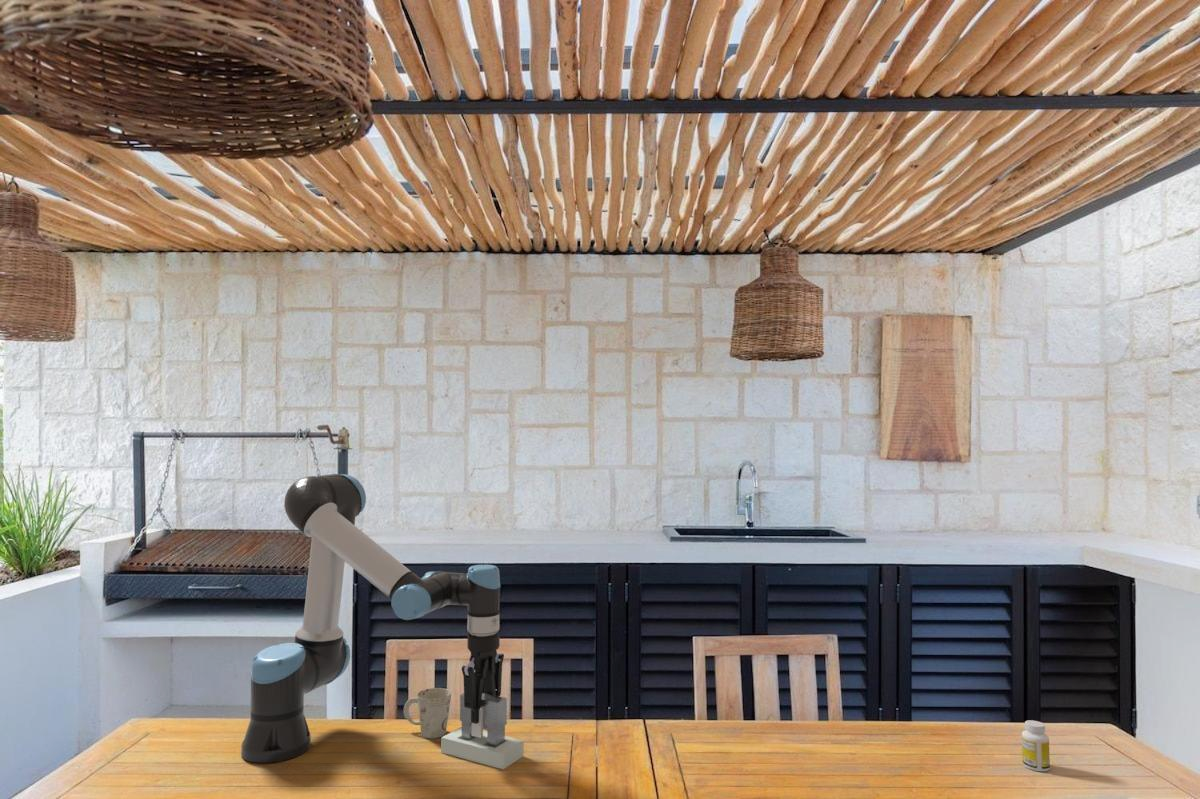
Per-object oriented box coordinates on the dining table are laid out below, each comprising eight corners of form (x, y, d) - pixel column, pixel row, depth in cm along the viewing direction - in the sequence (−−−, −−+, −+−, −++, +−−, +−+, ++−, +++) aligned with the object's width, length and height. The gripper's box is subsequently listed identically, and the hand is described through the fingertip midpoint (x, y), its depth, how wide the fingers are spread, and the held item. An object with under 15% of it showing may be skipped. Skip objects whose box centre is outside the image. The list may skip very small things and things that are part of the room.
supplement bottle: (1046, 764, 172) (1045, 720, 173) (1052, 774, 167) (1051, 729, 168) (1020, 760, 174) (1019, 717, 175) (1025, 770, 169) (1024, 726, 169)
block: (441, 752, 176) (441, 737, 177) (462, 740, 183) (463, 726, 184) (503, 769, 168) (503, 753, 168) (523, 756, 175) (523, 740, 175)
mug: (442, 742, 183) (443, 700, 183) (394, 737, 185) (395, 696, 186) (455, 728, 191) (456, 689, 191) (410, 724, 193) (410, 685, 194)
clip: (459, 737, 177) (460, 694, 177) (469, 732, 180) (469, 690, 180) (497, 747, 172) (497, 702, 172) (506, 741, 175) (506, 698, 175)
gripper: (474, 642, 168) (473, 749, 167) (516, 626, 182) (516, 724, 181) (448, 638, 171) (447, 742, 170) (492, 622, 186) (491, 718, 185)
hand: (482, 732), depth 176 cm, fingers closed on clip, 3 cm apart
